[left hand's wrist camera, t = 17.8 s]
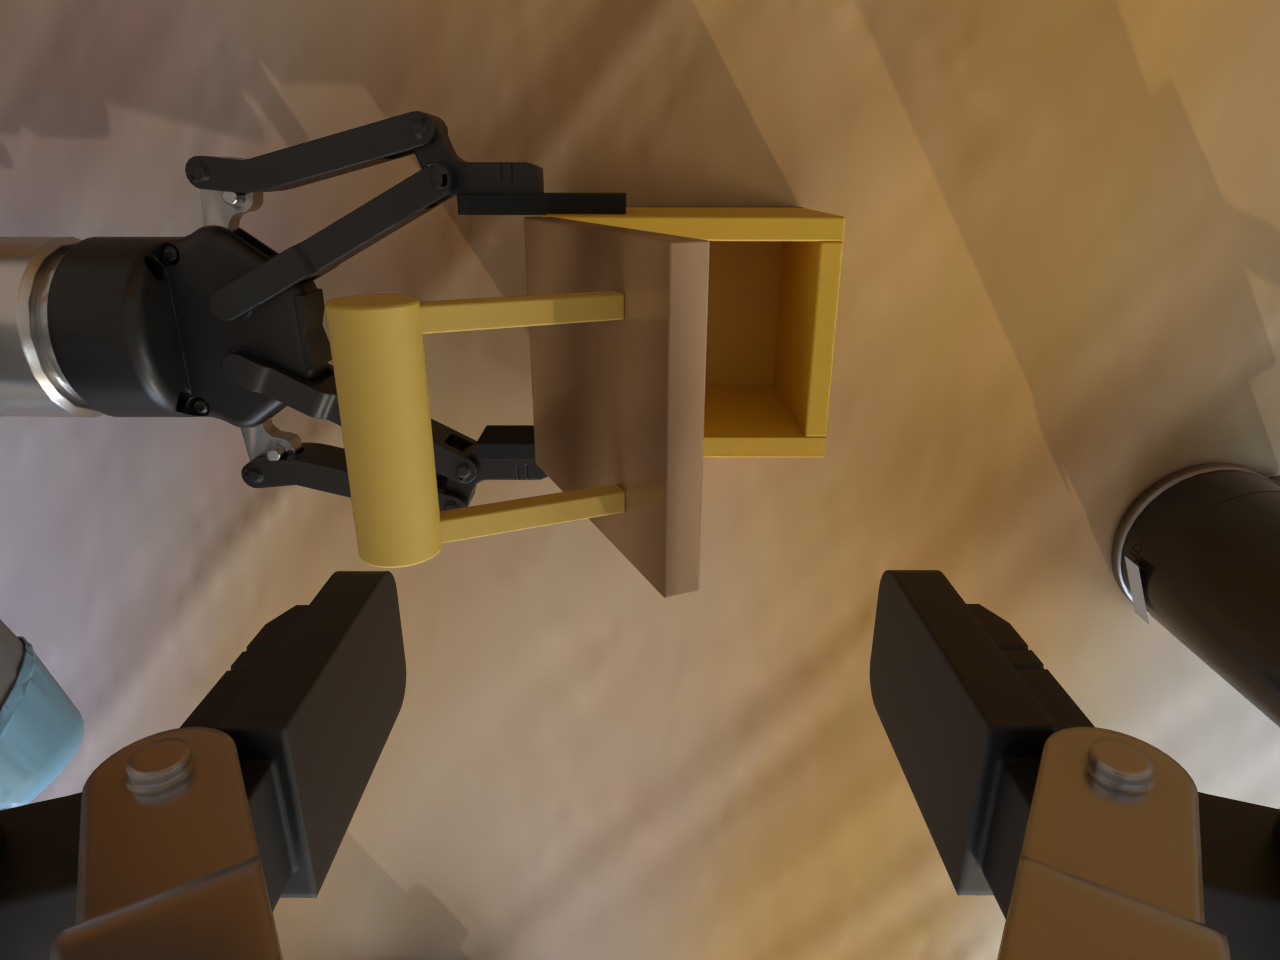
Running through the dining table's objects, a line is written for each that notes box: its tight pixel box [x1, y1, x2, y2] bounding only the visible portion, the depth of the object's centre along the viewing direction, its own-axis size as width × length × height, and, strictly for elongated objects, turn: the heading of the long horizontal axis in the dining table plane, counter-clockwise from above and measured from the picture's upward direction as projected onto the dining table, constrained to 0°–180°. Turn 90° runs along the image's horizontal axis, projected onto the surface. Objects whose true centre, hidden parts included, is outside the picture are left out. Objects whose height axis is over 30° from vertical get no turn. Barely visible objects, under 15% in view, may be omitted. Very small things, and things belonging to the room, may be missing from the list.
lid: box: [325, 217, 710, 598], centre depth 24 cm, size 12×9×9 cm
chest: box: [542, 206, 845, 457], centre depth 36 cm, size 11×10×10 cm
